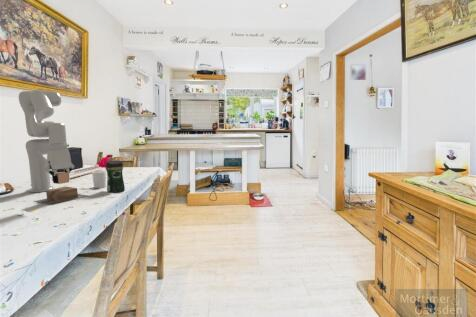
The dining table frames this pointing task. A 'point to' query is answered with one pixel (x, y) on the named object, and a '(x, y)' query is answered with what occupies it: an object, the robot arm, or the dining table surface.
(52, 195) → the walnut base block
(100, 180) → the white cup
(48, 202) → the charcoal board
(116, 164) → the coffee jar
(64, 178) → the terracotta cube
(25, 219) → the dining table surface
